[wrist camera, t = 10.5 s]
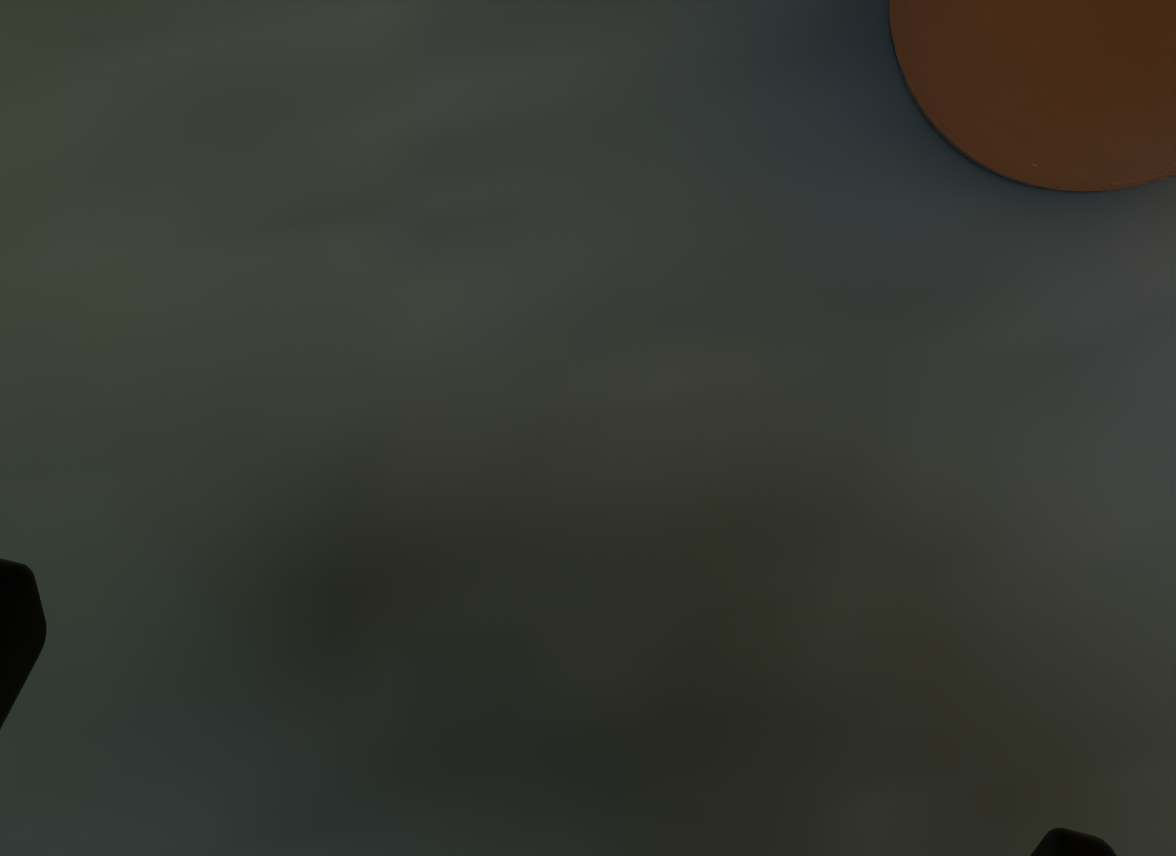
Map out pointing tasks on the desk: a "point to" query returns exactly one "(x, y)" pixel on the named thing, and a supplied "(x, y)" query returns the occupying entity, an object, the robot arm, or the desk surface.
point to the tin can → (1047, 86)
